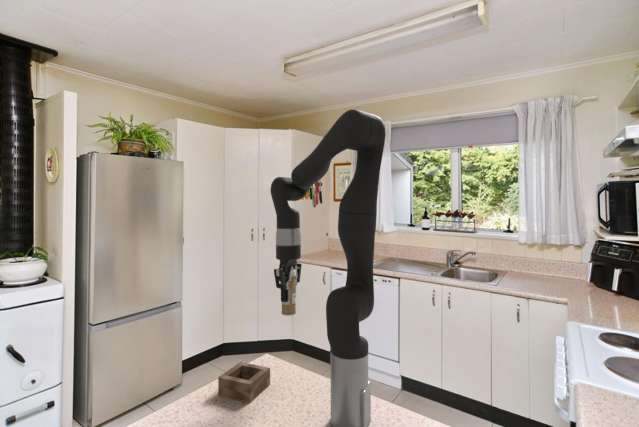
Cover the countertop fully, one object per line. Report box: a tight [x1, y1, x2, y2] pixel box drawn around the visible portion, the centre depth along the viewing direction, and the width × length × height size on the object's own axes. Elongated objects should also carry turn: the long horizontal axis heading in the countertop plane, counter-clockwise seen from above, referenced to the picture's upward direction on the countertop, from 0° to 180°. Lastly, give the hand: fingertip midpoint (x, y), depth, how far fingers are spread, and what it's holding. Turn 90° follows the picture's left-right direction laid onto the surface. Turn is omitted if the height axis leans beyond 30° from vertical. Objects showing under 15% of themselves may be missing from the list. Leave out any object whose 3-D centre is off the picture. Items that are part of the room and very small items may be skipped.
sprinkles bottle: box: [280, 269, 297, 317], centre depth 102 cm, size 5×5×14 cm
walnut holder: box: [217, 361, 271, 404], centre depth 97 cm, size 10×10×5 cm
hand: (288, 299), depth 102 cm, fingers closed on sprinkles bottle, 4 cm apart
